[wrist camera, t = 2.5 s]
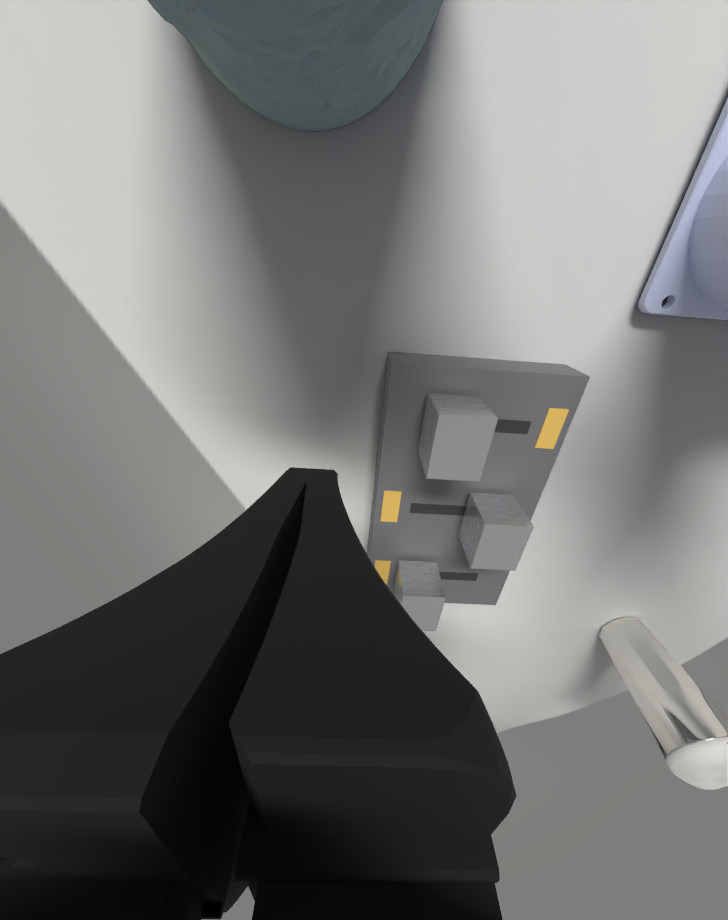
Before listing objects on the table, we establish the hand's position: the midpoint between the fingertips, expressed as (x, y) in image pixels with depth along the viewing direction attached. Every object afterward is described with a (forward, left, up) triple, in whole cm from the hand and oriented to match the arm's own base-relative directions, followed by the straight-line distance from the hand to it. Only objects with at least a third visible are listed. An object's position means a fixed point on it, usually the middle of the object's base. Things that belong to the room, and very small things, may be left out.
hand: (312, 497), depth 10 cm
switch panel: (-7, +5, -8) cm, 12 cm away
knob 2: (-5, 0, -6) cm, 8 cm away
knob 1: (-5, +10, -6) cm, 13 cm away
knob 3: (-8, +5, -6) cm, 12 cm away
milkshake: (-23, +17, -8) cm, 30 cm away
